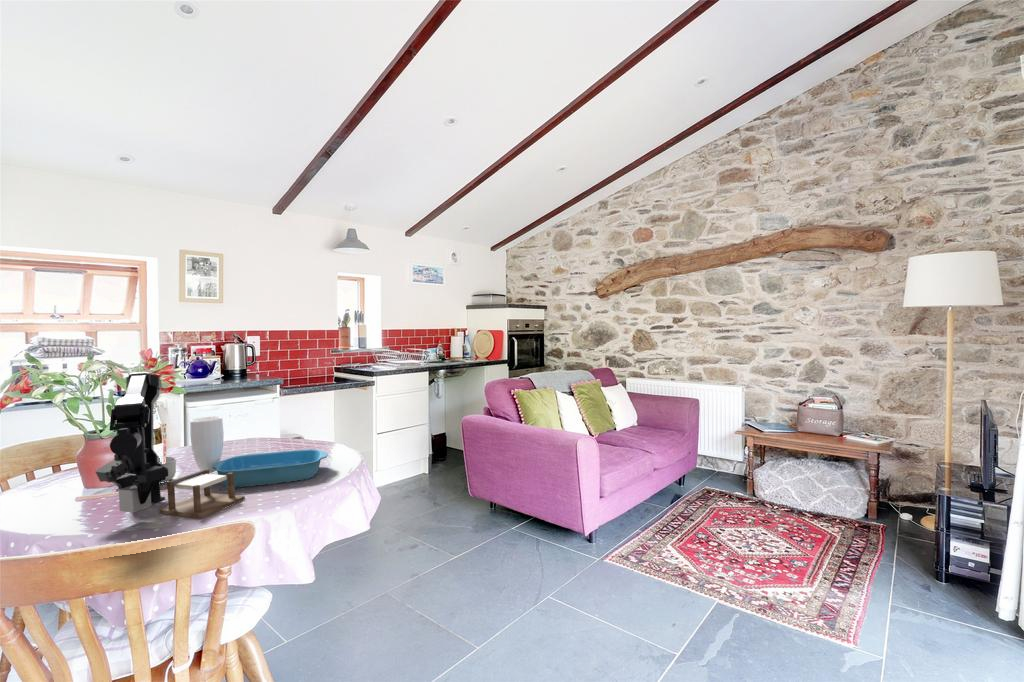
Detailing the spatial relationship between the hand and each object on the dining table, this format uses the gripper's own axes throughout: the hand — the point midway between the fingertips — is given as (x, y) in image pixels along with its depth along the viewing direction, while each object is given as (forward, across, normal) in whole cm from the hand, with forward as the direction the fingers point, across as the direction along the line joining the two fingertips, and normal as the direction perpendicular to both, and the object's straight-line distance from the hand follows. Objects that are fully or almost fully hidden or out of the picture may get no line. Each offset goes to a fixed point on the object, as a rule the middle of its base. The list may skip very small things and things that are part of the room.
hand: (135, 502), depth 138 cm
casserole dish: (+6, +8, +42) cm, 43 cm away
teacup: (+6, -29, +27) cm, 40 cm away
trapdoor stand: (+5, +8, +14) cm, 17 cm away
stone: (+2, 0, 0) cm, 2 cm away
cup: (+6, -13, +35) cm, 38 cm away
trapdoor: (-1, +8, +14) cm, 16 cm away
